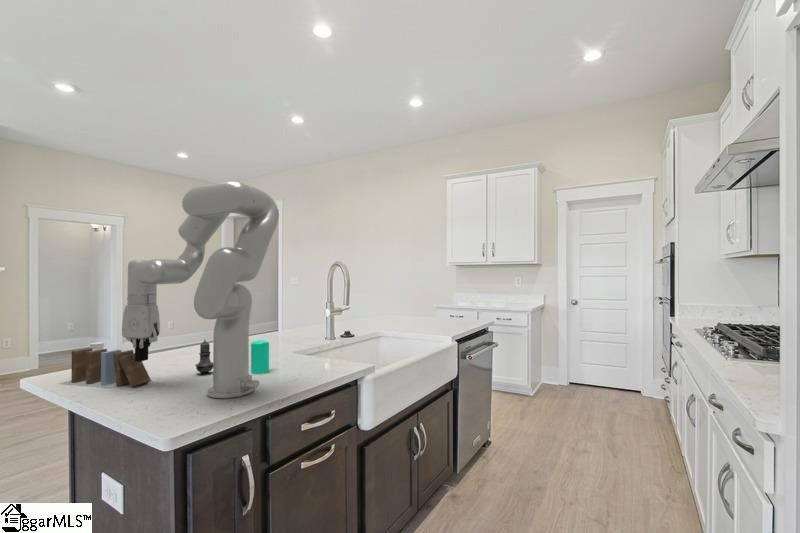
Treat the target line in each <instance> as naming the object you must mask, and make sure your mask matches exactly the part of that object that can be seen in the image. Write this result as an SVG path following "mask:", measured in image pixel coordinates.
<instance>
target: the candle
mask: <svg viewBox="0 0 800 533" xmlns="http://www.w3.org/2000/svg"><path fill="white" fill-rule="evenodd" d="M268 371H269V372H270V341H266V340H262V339H259V340H254V341H251V342H250V373H251V375H263V374H262V373H264V374H267V373H269V372H268ZM266 372H267V373H266Z"/></svg>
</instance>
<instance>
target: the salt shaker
mask: <svg viewBox="0 0 800 533" xmlns="http://www.w3.org/2000/svg"><path fill="white" fill-rule="evenodd" d="M199 347H200V350H199V351H200V352H198V355H199V361H198V363H196V364H195V368H196V371H197V372H199V373H197V376H201V377H202V376H210V375H213V362H212V361H211V357H210V354H211V352H210V347H211V346H210V343H209V342H208V341H207V340H206V339H204V340H203V342H202V343H200V346H199ZM211 371H212V372H211Z"/></svg>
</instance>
